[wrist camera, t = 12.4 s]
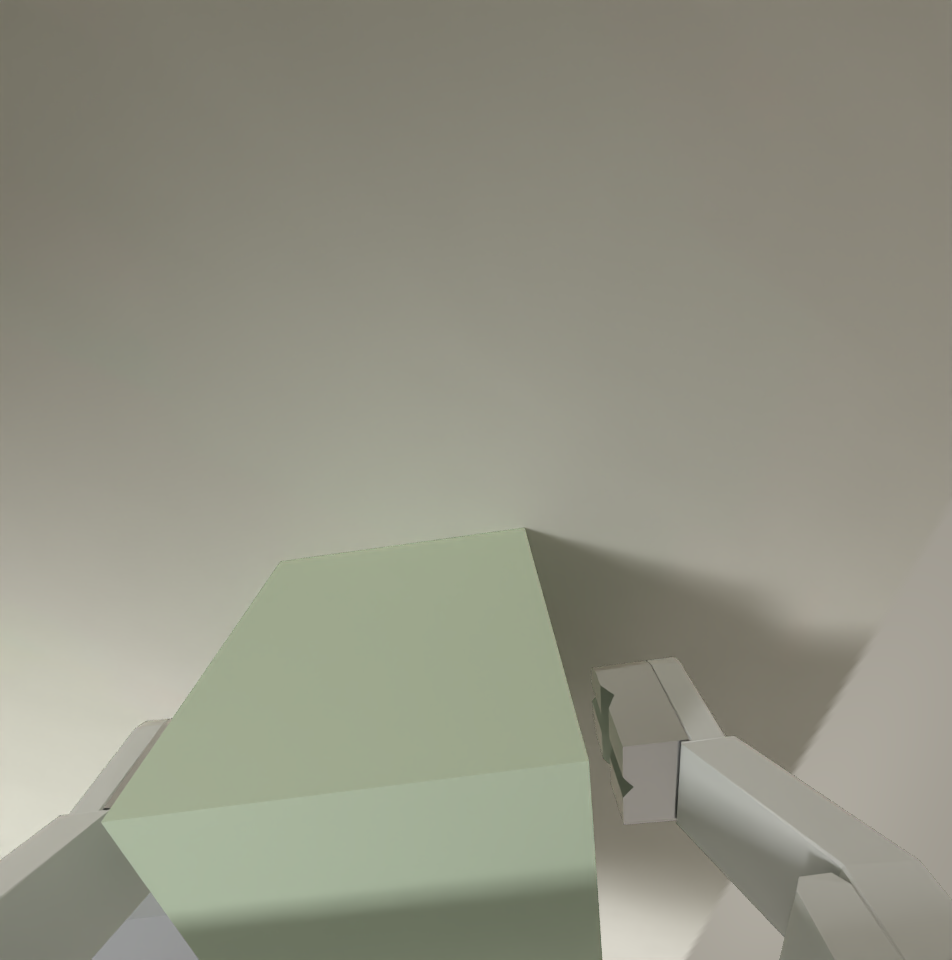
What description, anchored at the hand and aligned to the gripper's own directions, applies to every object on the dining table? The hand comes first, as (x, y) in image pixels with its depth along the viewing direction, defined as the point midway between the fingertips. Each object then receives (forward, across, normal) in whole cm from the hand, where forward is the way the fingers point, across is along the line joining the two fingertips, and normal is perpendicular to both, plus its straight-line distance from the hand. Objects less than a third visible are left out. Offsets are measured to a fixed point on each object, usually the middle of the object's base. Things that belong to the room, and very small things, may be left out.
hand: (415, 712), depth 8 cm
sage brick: (+2, 0, 0) cm, 2 cm away
